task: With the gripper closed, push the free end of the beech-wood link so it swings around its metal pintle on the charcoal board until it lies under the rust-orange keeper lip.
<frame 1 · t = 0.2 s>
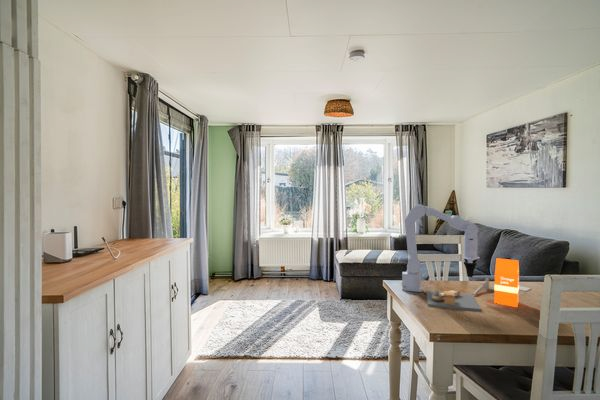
hand: (470, 275, 161), 10 cm above the table, tool pointing down, fingers open, 7 cm apart
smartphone: (512, 288, 176), on the table
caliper: (480, 293, 166), on the table
keeper board: (451, 301, 153), on the table
link: (446, 293, 154), point 3 cm above the table, hinge at 50.0°
orange juice: (506, 303, 150), on the table
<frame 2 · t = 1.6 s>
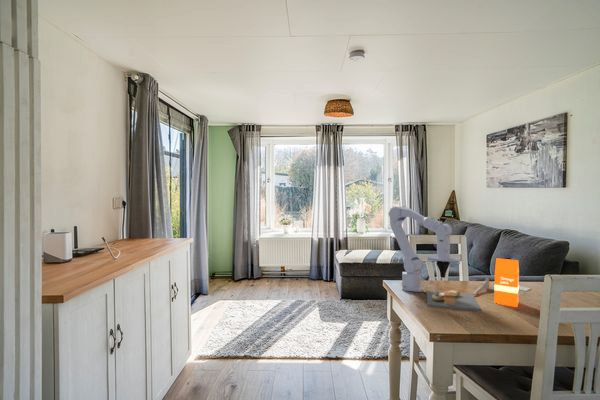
hand: (443, 277, 159), 9 cm above the table, tool pointing down, fingers closed
nothing on the table moved.
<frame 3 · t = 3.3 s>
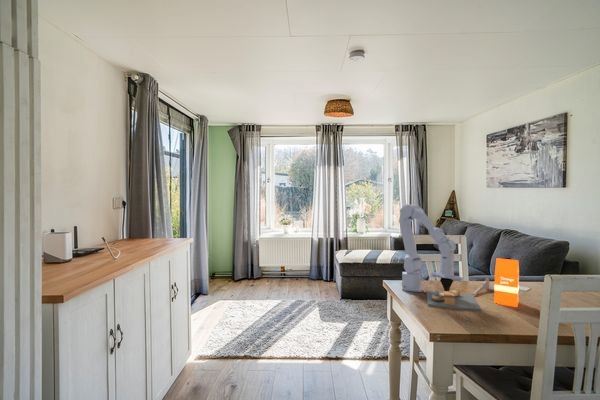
hand: (446, 294, 158), 2 cm above the table, tool pointing down, fingers closed
link: (446, 293, 154), point 3 cm above the table, hinge at 49.5°, touching gripper
everything else where it was.
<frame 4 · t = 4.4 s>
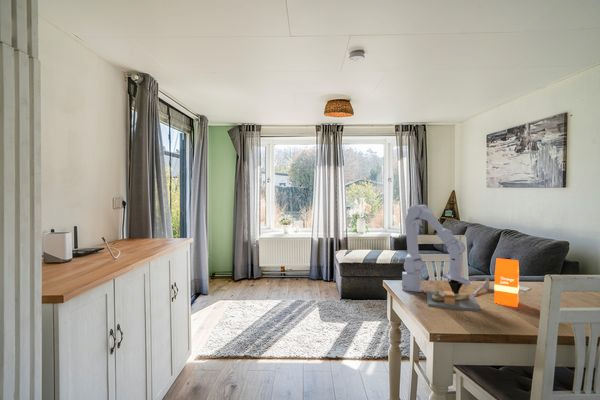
hand: (455, 296, 154), 2 cm above the table, tool pointing down, fingers closed, pressing on link
link: (451, 294, 151), point 3 cm above the table, hinge at 27.4°, touching gripper
everything else where it was.
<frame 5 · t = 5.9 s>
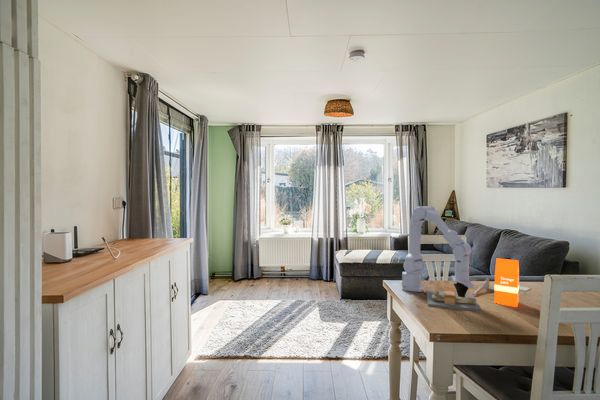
hand: (461, 299, 150), 2 cm above the table, tool pointing down, fingers closed
link: (453, 297, 148), point 3 cm above the table, hinge at 1.6°, touching gripper
everything else where it was.
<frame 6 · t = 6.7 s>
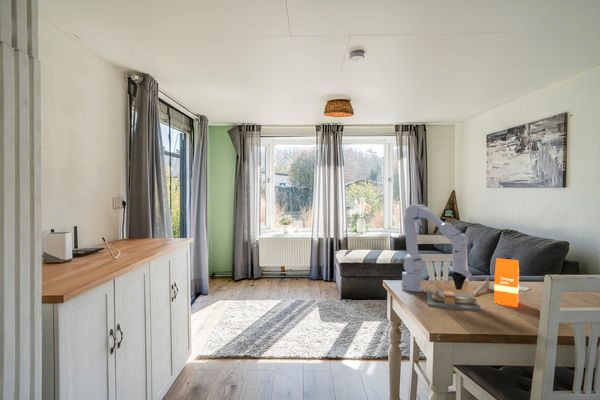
hand: (458, 289, 152), 6 cm above the table, tool pointing down, fingers closed
link: (453, 297, 148), point 3 cm above the table, hinge at 1.6°
everything else where it was.
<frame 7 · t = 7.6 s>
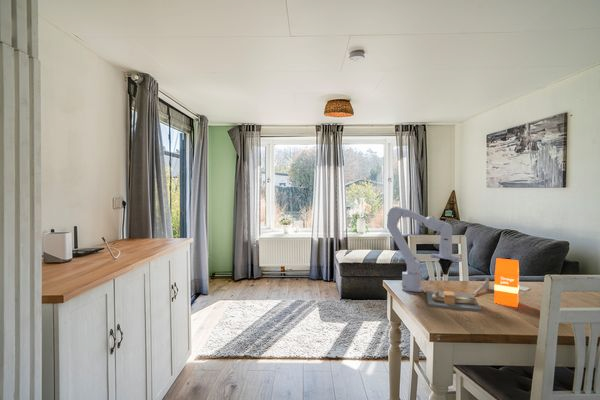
hand: (445, 274, 165), 9 cm above the table, tool pointing down, fingers closed
nothing on the table moved.
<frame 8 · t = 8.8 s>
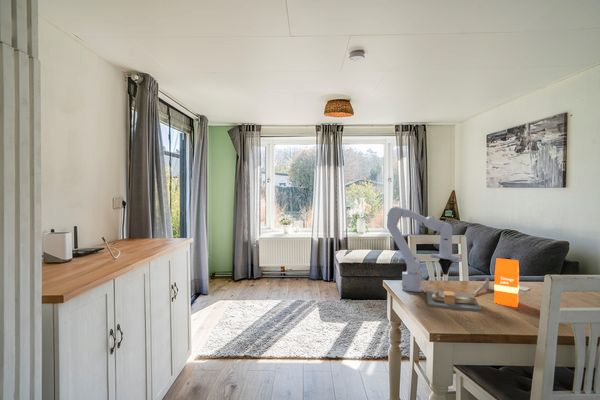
hand: (445, 274, 165), 9 cm above the table, tool pointing down, fingers closed
nothing on the table moved.
at the end: link at +2° (first picture: +50°) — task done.
